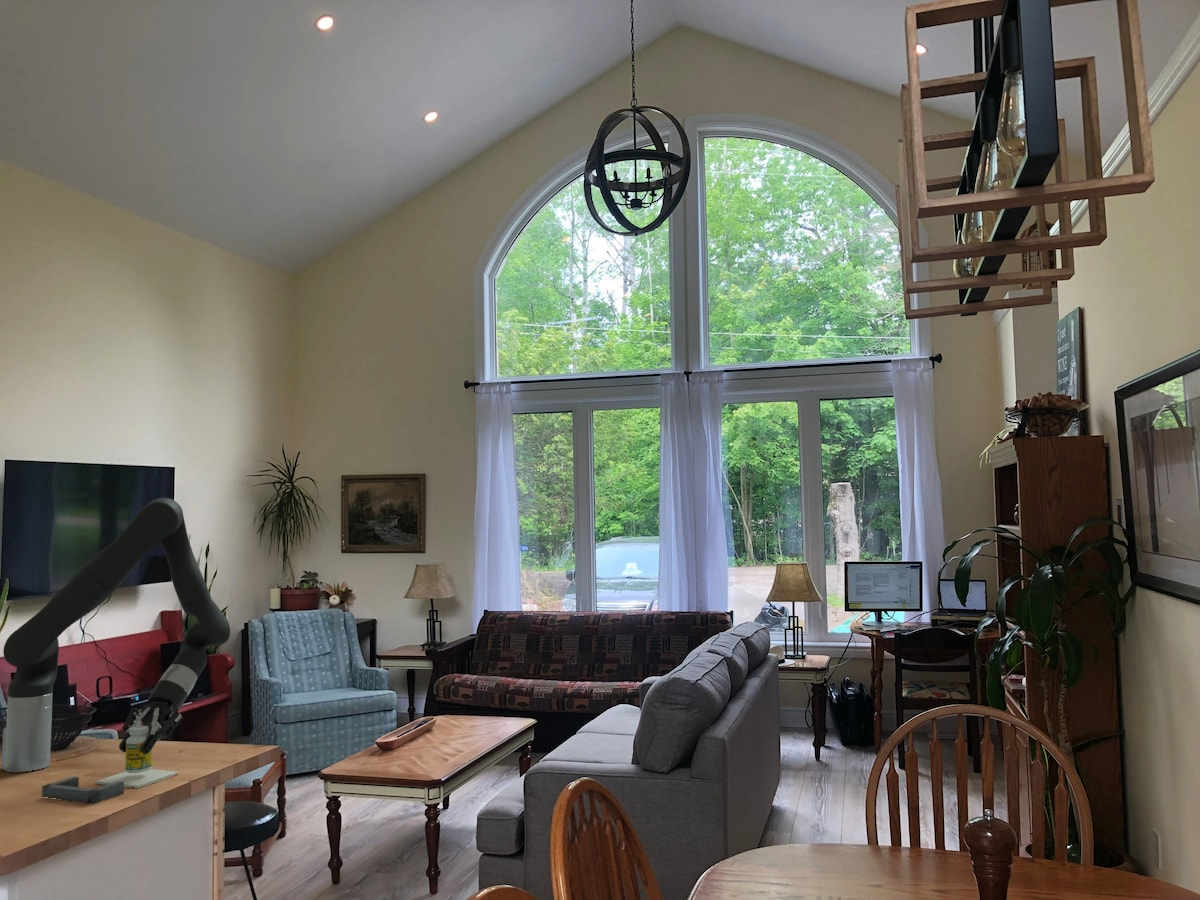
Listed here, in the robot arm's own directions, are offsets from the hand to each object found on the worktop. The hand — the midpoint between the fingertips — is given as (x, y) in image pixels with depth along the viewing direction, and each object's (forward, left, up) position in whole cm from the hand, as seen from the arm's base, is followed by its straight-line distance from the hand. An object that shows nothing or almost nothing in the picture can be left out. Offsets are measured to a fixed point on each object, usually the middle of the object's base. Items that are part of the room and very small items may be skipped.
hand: (132, 751), depth 210 cm
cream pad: (0, +2, -7) cm, 7 cm away
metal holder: (-1, -11, -7) cm, 13 cm away
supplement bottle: (0, +2, -5) cm, 5 cm away
